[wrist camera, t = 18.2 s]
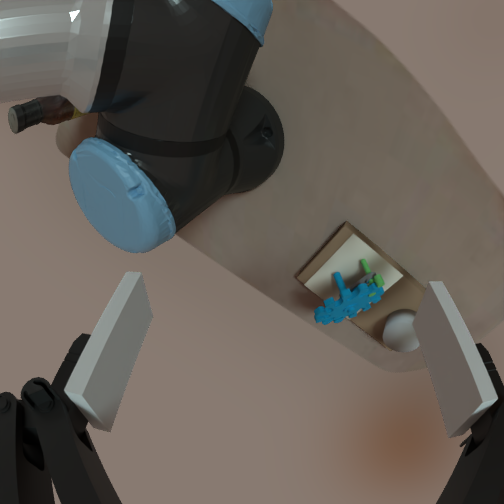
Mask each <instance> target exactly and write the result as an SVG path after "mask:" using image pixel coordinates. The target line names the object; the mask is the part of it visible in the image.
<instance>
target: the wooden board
mask: <svg viewBox="0 0 504 504" xmlns="http://www.w3.org/2000/svg"><path fill="white" fill-rule="evenodd" d="M362 259H365V260H366V262H367V264H368V266H369V268H370V270H371V272H375V273H376V275H378V274H381V276H382V278H383V280H384V282H385V285H383V286H382V287H383V289H384V294H383V295H381V296H380V297H381V300H380V301H378V302H377V303H373V302H370V306H371V308H370V309H368V310H366V311H363V310H362V309H360V310H358V312H357V316H355V317H353V318H349V317H348V316H346V318H347V319H348V320H349V319H350V320H351V321H352V322H354V323H355V324H356V325H358V326H359V327H360V328H361V329H363V330H364V331H365V332H367V333H368V334H369V335H370V336H372V337H373V338H374V339H376V340H377V341H378V342H379V343H381V344H382V345H383V346H384V347H386V348H387V349H388V350H390V351H392V350H394V351H398V352H409V351H412V350H415V349H416V348H418V347H419V346H420V344H419V341H418V339H417V336H416V333H415V331H414V328H413V325H412V323H413V320H414V318H415V316H416V313H417V311H418V308H419V306H420V303H421V301H422V298H423V296H424V293H425V291H426V288H425V287H423V286H422V285H421V284H420V283H419V282H418V281H417V280H416V279H415V278H413V277H412V276H411V275H410V274H409V273H408V272H407V271H406V270H405V269H403V268H402V267H401V266H400V265H399V264H398V263H397V262H395V261H394V260H393V259H392V258H391V257H390V256H388V255H387V254H386V253H385V252H384V251H383V250H381V249H380V248H379V247H378V246H377V245H376V244H374V243H373V242H372V241H371V240H370V239H368V238H367V237H366V236H365V235H364V234H362V233H361V232H360V231H359V230H357V229H356V228H355V227H354V226H353V225H351V224H350V223H349V222H348V221H346V222H345V223H344V224H343V226H342V227H341V228H340V229H339V230H338V231H337V232H336V233H335V235H334V236H333V237H332V238H331V239H330V240H329V241H328V242H327V243H326V245H325V246H324V247H323V248H322V249H321V250H320V251H319V252H318V253H317V255H316V256H315V257H314V258H313V259H312V260H311V261H310V262H309V263H308V264H307V265H306V267H305V268H304V269H303V270H302V271H301V272H300V273H299V275H298V277H297V279H298V280H300V281H301V282H302V283H304V285H305V286H306V287H307V288H309V289H310V290H311V291H312V292H314V293H315V294H316V295H318V296H319V297H320V298H321V299H323V300H324V301H325V300H326V299H328V298H330V297H333V298H334V301H337V300H338V299H339V298H340V297H339V294H340V291H339V288H338V286H337V284H336V281H335V279H334V276H333V274H334V273H336V272H340V274H341V276H342V279H343V281H344V283H345V286H346V288H349V287H350V286H352V285H353V284H355V283H356V282H357V281H359V280H360V279H362V278H363V277H364V276H366V272H365V270H364V268H363V266H362V264H361V262H360V261H361V260H362ZM369 284H370V283H368V284H367V285H369Z"/></svg>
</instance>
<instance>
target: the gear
mask: <svg viewBox="0 0 504 504" xmlns="http://www.w3.org/2000/svg"><path fill="white" fill-rule="evenodd" d="M360 262H361V264H362V266H363V268H364V270H365V272H366V276H364V277H363V278H362V279H360V280H359V281H357V282H356V283H355V284H353V285H352V286H350V287H349V288H346V286H345V283H344V281H343V279H342V276H341V274H340V272H336V273H334V274H333V276H334V279H335V281H336V284H337V286H338V288H339V291H340V294H339V297H340V298H339V299H338V300H337V301H334V298H333V297H330V298H328V299H326V300H325V301H324V304H325V307H326V308H324V307H323V306H320V307H318V308H316V309H315V310H314V312H315V316H314V318H315V320H316V323H318V322H321V321H322V324H324V325H326V324H328V323H330V322H331V321H334V323H339V322H341V321H342V320H343V319H344V318H345V317H346V316H348V317H349V318H353V317H355V316H357V312H358V310H360V309H362V310H363V311H366V310H368V309H370V308H371V306H370V302H373V303H377V302H378V301H380V300H381V297H380V296H381V295H383V294H384V289H383V287H382V286H383V285H385V282H384V280H383V278H382V276H381V274H378V275H376V273H375V272H371V270H370V268H369V266H368V264H367V262H366V260H365V259H362V260H361V261H360ZM368 283H370V284H369V285H367V284H368Z"/></svg>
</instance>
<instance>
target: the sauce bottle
mask: <svg viewBox="0 0 504 504" xmlns="http://www.w3.org/2000/svg"><path fill="white" fill-rule="evenodd" d="M85 114H89V113H81V112H80V111H79V110H78V109H77V108H76V107H75V106H74V105H73V104H72V103H71V102H70V101H69V100H68V99H67V98H65V97H63V96H61V95H55V96H46V97H38V98H36V99H33V100H32V101H29V102H27V103H24V104H21V105H15V106H13V107H11V108H10V109H9V113H8V120H9V125H10V128H11V129H12V132H13V133H15V134H16V133H19V132H21V131H23V130H24V129H26V128H28V127H30V126H33V125H35V124H36V125H37V124H39V123H40V122H42V123H46V124H49V125H55V124H59V123H61V122H64V121H66V120H71V119H74V118H77V117H80V116H82V115H85Z"/></svg>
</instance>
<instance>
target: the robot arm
mask: <svg viewBox="0 0 504 504" xmlns="http://www.w3.org/2000/svg"><path fill="white" fill-rule="evenodd" d="M272 11H273V4H272V1H271V0H0V103H5V102H10V101H16V100H23V99H30V98H38V97H46V96H55V95H61V96H63V97H65V98H67V99H68V100H69V101H70V102H71V103H72V104H73V105H74V106H75V107H76V108H77V109H78V110H79V111H80V112H81V113H93V112H99V115H98V123H97V132H96V135H95V137H94V138H92V137H90V138H87V139H84V140H83V141H82V143H81V144H80V145H78V146H77V148H76V149H75V150H74V151H73V152H72V154H71V156H70V160H69V177H70V182H71V186H72V190H73V192H74V195H75V198H76V200H77V202H78V204H79V206H80V208H81V209H82V211H83V213H84V214H85V216H86V218H87V219H88V220H89V222H90V223H91V224H92V226H93V227H94V228H95V229H96V230H97V231H98V232H99V233H100V234H101V235H102V236H103V237H104V238H105V239H106V240H107V241H109V242H110V243H111V244H113V245H114V246H116V247H118V248H120V249H122V250H124V251H128V252H131V253H139V252H141V253H145V252H148V251H151V250H152V249H154V248H156V247H157V246H159V245H160V244H162V243H164V242H166V241H168V240H170V239H171V238H172V237H173V236H174V234H175V233H176V232H178V231H179V230H180V229H181V228H183V227H184V226H185V225H186V224H188V223H189V222H190V221H191V220H193V219H194V218H195V217H196V216H198V215H199V214H200V213H201V212H203V211H204V210H205V209H207V208H208V207H209V206H210V205H212V204H213V203H214V202H216V201H217V200H218V199H219V198H221V197H222V196H223V195H227V194H232V193H241V192H246V191H249V190H252V189H254V188H256V187H257V186H259V185H260V184H262V183H263V182H264V181H265V180H267V179H268V178H269V177H270V176H271V175H272V174H273V173H274V172H275V170H276V169H277V167H278V165H279V163H280V161H281V158H282V155H283V150H284V133H283V128H282V124H281V121H280V119H279V116H278V114H277V112H276V111H275V109H274V108H273V106H272V105H271V104H270V102H269V101H268V100H267V99H266V98H265V97H264V96H262V95H261V94H260V93H259V92H257V91H255V90H254V89H252V88H250V87H247V86H244V85H245V83H246V80H247V77H248V75H249V72H250V69H251V67H252V64H253V62H254V59H255V57H256V54H257V52H258V49H259V47H262V46H263V44H264V34H265V31H266V28H267V25H268V23H269V20H270V17H271V14H272ZM152 318H153V314H152V311H151V307H150V303H149V300H148V296H147V292H146V288H145V284H144V280H143V276H142V273H139V272H126V274H125V275H124V277H123V279H122V281H121V282H120V284H119V286H118V287H117V289H116V291H115V293H114V294H113V296H112V298H111V300H110V301H109V303H108V305H107V307H106V309H105V310H104V312H103V314H102V316H101V318H100V320H99V321H98V323H97V325H96V327H95V329H94V331H93V333H92V335H89V334H83V333H82V334H81V335H80V336H79V337H78V338H77V339H76V340H75V341H74V342H73V344H72V346H71V348H70V349H69V353H67V355H66V357H65V360H64V361H63V363H62V365H61V367H60V368H59V370H58V372H57V374H56V376H55V378H54V380H53V382H52V384H51V385H50V384H49V382H48V381H47V380H45V379H44V378H40V377H37V378H32V379H31V380H30V381H28V382H27V383H26V384H25V385H24V386H23V388H22V391H21V399H22V400H18V399H16V397H15V396H14V395H13V394H11V393H10V392H4V393H1V394H0V504H55V501H54V494H53V488H52V481H53V484H54V486H55V489H56V492H57V494H58V497H59V499H60V502H61V504H122V503H121V501H120V499H119V497H118V496H117V493H116V492H115V490H114V488H113V486H112V484H111V482H110V480H109V478H108V476H107V474H106V472H105V470H104V468H103V465H102V464H101V461H100V459H99V456H98V454H97V452H96V450H95V447H94V445H93V443H92V440H91V438H90V436H89V433H88V431H87V430H86V425H87V423H88V422H89V423H90V424H91V425H92V426H93V427H94V428H96V429H100V430H103V431H107V432H111V428H112V426H113V423H114V420H115V417H116V414H117V411H118V408H119V405H120V403H121V400H122V397H123V394H124V391H125V388H126V386H127V383H128V380H129V378H130V375H131V372H132V369H133V367H134V364H135V361H136V359H137V356H138V353H139V351H140V348H141V346H142V343H143V341H144V338H145V336H146V333H147V331H148V328H149V326H150V323H151V321H152ZM412 325H413V328H414V331H415V333H416V336H417V339H418V341H419V344H420V347H421V350H422V353H423V356H424V358H425V361H426V364H427V367H428V370H429V373H430V376H431V379H432V382H433V386H434V389H435V392H436V395H437V399H438V402H439V405H440V409H441V413H442V416H443V420H444V423H445V427H446V431H447V435H448V438H451V437H456V436H460V435H463V434H464V433H465V432H466V431H467V430H468V429H469V428H471V432H472V434H471V435H470V436H469V437H468V438H467V439H466V440H464V441H463V442H462V443H461V445H460V447H462V446H463V445H465V444H466V445H465V447H464V450H463V452H462V454H461V456H460V458H459V461H458V463H457V465H456V467H455V469H454V471H453V473H452V475H451V477H450V479H449V481H448V483H447V485H446V487H445V488H444V490H443V492H442V494H441V496H440V498H439V499H438V501H437V503H436V504H504V385H503V383H502V381H501V378H500V376H499V374H498V372H497V371H496V367H495V365H494V363H493V360H492V358H491V356H490V354H489V352H488V351H487V350H486V348H485V347H484V346H483V345H482V344H481V343H478V344H475V343H474V341H473V339H472V337H471V335H470V333H469V331H468V329H467V327H466V325H465V323H464V321H463V319H462V317H461V315H460V313H459V311H458V309H457V308H456V306H455V304H454V302H453V300H452V298H451V296H450V295H449V293H448V291H447V289H446V287H445V286H444V284H443V282H429V283H428V285H427V288H426V291H425V293H424V296H423V298H422V301H421V303H420V306H419V308H418V311H417V313H416V316H415V318H414V320H413V323H412ZM51 478H52V480H51Z"/></svg>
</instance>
